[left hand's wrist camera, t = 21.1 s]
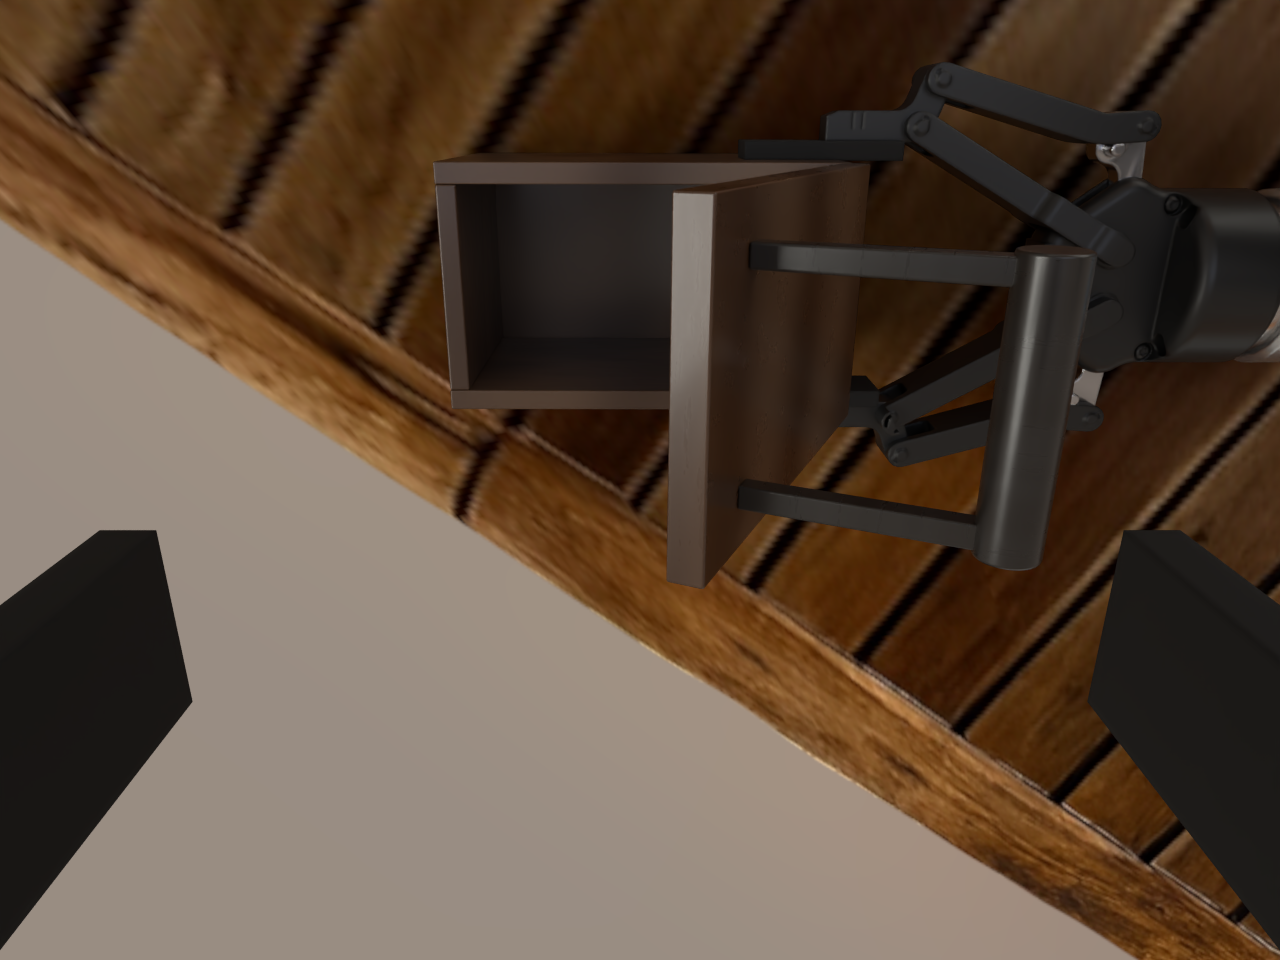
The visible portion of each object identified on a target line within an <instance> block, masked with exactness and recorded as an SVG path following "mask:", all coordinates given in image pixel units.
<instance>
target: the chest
mask: <svg viewBox="0 0 1280 960" xmlns="http://www.w3.org/2000/svg"><path fill="white" fill-rule="evenodd" d="M841 163H851V162H846V161H840V160H744V159H741V158H738V154H719V153H477V154H472V155H467V156H461V157H456V158H451V159H445V160H440V161H435V162H433V168H434V181H435V184H436V185H435V191H436V205H437V218H438V231H439V244H440V257H441V270H442V284H443V297H444V310H445V323H446V336H447V349H448V363H449V376H450V388H451V389H452V390H451V403H452V408H453V409H669V386H670V318H671V249H672V193H673V191H674V190H678V189H684V188H690V187H697V186H703V185H709V184H716V183H722V182H728V181H734V180H741V179H747V178H753V177H760V176H766V175H772V174H779V173H785V172H791V171H797V170H804V169H810V168H816V167H823V166H829V165H835V164H841Z"/></svg>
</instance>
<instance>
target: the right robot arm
mask: <svg viewBox="0 0 1280 960" xmlns="http://www.w3.org/2000/svg"><path fill="white" fill-rule="evenodd" d="M944 104H947V105H951V106H954V107H957V108H960V109H963V110H966V111H969V112H972V113H976V114H979V115H982V116H985V117H988V118H991V119H994V120H998V121H1001V122H1004V123H1007V124H1010V125H1013V126H1016V127H1020V128H1023V129H1026V130H1029V131H1032V132H1035V133H1038V134H1041V135H1045V136H1048V137H1051V138H1054V139H1057V140H1061V141H1065V142H1071V143H1084V144H1087V146H1086V154H1087V157H1088V158H1089V159H1090V160H1091V161H1092V162H1095V163H1099V164H1102V165H1104V166H1105V167H1106V169H1107V171H1108V179H1106V180H1104V181H1103V182H1101V183H1100V184H1098V185H1097V186H1095V187H1094V188H1092V189H1091V190H1089V191H1088V192H1086V193H1085V194H1083V195H1082V196H1080V197H1079V198H1077V199H1076V200H1074V201H1073V202H1069V201H1068V200H1066V199H1065V198H1063V197H1061V196H1059V195H1057V194H1055V193H1053V192H1051V191H1049V190H1047V189H1046V188H1044V187H1043V186H1041V185H1040V184H1038V183H1037V182H1035V181H1034V180H1032V179H1031V178H1029V177H1027V176H1026V175H1024V174H1023V173H1021V172H1020V171H1018V170H1017V169H1015V168H1014V167H1012V166H1011V165H1009V164H1008V163H1006V162H1005V161H1003V160H1002V159H1000V158H998V157H997V156H995V155H994V154H992V153H991V152H989V151H988V150H986V149H985V148H983V147H982V146H980V145H979V144H977V143H976V142H974V141H973V140H971V139H969V138H968V137H966V136H965V135H963V134H962V133H960V132H959V131H957V130H956V129H954V128H953V127H951V126H950V125H948V124H947V123H945V122H944V121H942V120H940V119H939V118H938V117H939V114H940V112H941V110H942V108H943V106H944ZM1160 128H1161V118H1160V116H1159V114H1157V113H1156V112H1154V111H1149V110H1147V111H1115V112H1100V111H1097V110H1094V109H1091V108H1088V107H1085V106H1081V105H1078V104H1075V103H1072V102H1069V101H1066V100H1063V99H1060V98H1057V97H1054V96H1051V95H1048V94H1044V93H1041V92H1038V91H1035V90H1032V89H1029V88H1026V87H1023V86H1020V85H1017V84H1014V83H1010V82H1007V81H1004V80H1001V79H998V78H995V77H992V76H989V75H986V74H983V73H980V72H976V71H973V70H970V69H967V68H964V67H961V66H958V65H955V64H952V63H947V62H942V63H937V64H932V65H927V66H924V67H921V68H919V69H918V70H917V71H916V72H915V74H914V76H913V79H912V87H911V89H910V91H909V94H908V96H907V98H906V100H905V102H904V103H903V104H902V105H901V106H900V107H899V108H897V109H895V110H892V111H832V112H829V113H827V114H824V115H822V116H821V118H820V133H819V140H739V142H738V158H741V159H744V160H840V161H903V154H904V144H905V145H907V146H908V147H910V148H912V149H913V150H915V151H916V152H918V153H919V154H921V155H922V156H924V157H926V158H927V159H929V160H930V161H932V162H933V163H935V164H936V165H938V166H940V167H941V168H943V169H944V170H946V171H947V172H949V173H950V174H952V175H954V176H955V177H957V178H958V179H960V180H961V181H963V182H964V183H966V184H968V185H969V186H971V187H972V188H974V189H975V190H977V191H978V192H980V193H982V194H983V195H985V196H986V197H988V198H989V199H991V200H992V201H994V202H996V203H997V204H999V205H1000V206H1002V207H1003V208H1005V209H1006V210H1008V211H1009V212H1011V214H1012V215H1013V216H1015V217H1016V218H1018V219H1019V220H1021V221H1022V222H1024V223H1026V224H1027V225H1029V226H1030V227H1032V228H1033V229H1035V232H1034V233H1033V235H1032V237H1031V238H1026V244H1025V246H1028V245H1059V246H1072V247H1080V248H1086V249H1091V250H1093V251H1095V252H1097V262H1096V267H1095V273H1094V278H1093V284H1092V289H1091V295H1090V300H1089V306H1088V311H1087V317H1086V322H1085V328H1084V333H1083V339H1082V344H1081V350H1080V355H1079V361H1078V366H1077V372H1076V377H1075V383H1074V388H1073V394H1072V399H1071V405H1070V410H1069V416H1068V421H1067V427H1066V430H1076V431H1093V430H1095V429H1097V428H1098V427H1099V426H1100V425H1101V424H1102V421H1103V417H1104V415H1103V412H1102V410H1101V409H1099V408H1098V407H1097V406H1095V403H1096V400H1097V396H1098V392H1099V389H1100V385H1101V381H1102V377H1103V374H1104V372H1107V371H1110V370H1112V369H1114V368H1116V367H1118V366H1120V365H1123V364H1126V363H1130V362H1225V361H1229V360H1232V359H1234V360H1236V361H1238V362H1280V188H1274V189H1262V190H1260V191H1254V190H1251V189H1247V188H1158V187H1156V186H1154V185H1152V184H1151V183H1149V182H1148V181H1146V180H1145V179H1142V172H1143V163H1144V155H1145V147H1146V142H1147V141H1150V140H1152V139H1153V138H1155V137H1156V136H1157V134H1158V133H1159V131H1160ZM1003 326H1004V321H1002V322H1000V323H999V324H997V325H996V326H995V328H994V330H992V331H991V332H989V333H987V334H985V335H983V336H981V337H979V338H977V339H975V340H973V341H971V342H969V343H968V344H966V345H964V346H962V347H960V348H958V349H956V350H954V351H952V352H950V353H948V354H946V355H944V356H942V357H940V358H939V359H937V360H935V361H933V362H931V363H929V364H927V365H925V366H923V367H921V368H919V369H917V370H915V371H913V372H911V373H910V374H908V375H906V376H904V377H902V378H900V379H898V380H896V381H894V382H892V383H890V384H888V385H886V386H884V387H882V388H881V389H879V390H878V389H877V388H876V387H875V386H874V384H873V383H872V382H871V381H870V380H869V379H868V378H867V377H866V376H852V377H851V388H850V399H849V410H848V416H847V417H846V418H845V419H844V420H843V422H842V423H841V424H840V425H839V426H838V427H870V428H872V429H874V432H875V436H876V443H877V446H878V447H879V448H880V450H881V451H882V452H883V454H884V455H885V456H886V458H887V459H888V460H889V462H890V463H891V464H892V465H894V466H897V467H903V466H907V465H911V464H915V463H919V462H923V461H927V460H930V459H934V458H938V457H942V456H946V455H950V454H954V453H958V452H962V451H966V450H970V449H974V448H978V447H981V446H985V445H986V441H987V434H988V427H989V421H990V414H991V407H992V400H993V399H991V400H987V401H983V402H980V403H976V404H972V405H968V406H964V407H960V408H956V409H953V410H949V411H945V412H941V413H937V414H933V415H930V416H926V417H922V418H919V417H921V416H922V415H924V414H926V413H928V412H930V411H932V410H934V409H936V408H938V407H940V406H942V405H944V404H946V403H948V402H950V401H952V400H954V399H956V398H958V397H960V396H962V395H964V394H966V393H968V392H970V391H972V390H974V389H976V388H978V387H980V386H982V385H984V384H986V383H988V382H990V381H992V380H993V379H995V378H996V374H997V367H998V360H999V353H1000V347H1001V340H1002V333H1003ZM917 418H918V419H917Z"/></svg>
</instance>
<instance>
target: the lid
mask: <svg viewBox="0 0 1280 960" xmlns="http://www.w3.org/2000/svg"><path fill="white" fill-rule="evenodd" d="M869 175H870V164H864V163H841V164H835V165H829V166H823V167H816V168H810V169H804V170H797V171H791V172H785V173H779V174H772V175H766V176H760V177H753V178H747V179H741V180H734V181H728V182H722V183H716V184H709V185H703V186H697V187H690V188H684V189H678V190H674V191H673V193H672V249H671V318H670V386H669V455H668V523H667V581H668V582H672V583H676V584H681V585H686V586H690V587H695V588H700V589H704V588H705V587H706V585H707V584H708V583H709V582H710V581H711V579H712V578H713V577H714V576H715V575H716V573H717V572H718V571H719V570H720V569H721V567H722V566H723V565H724V564H725V562H726V561H727V560H728V559H729V558H730V556H731V555H732V554H733V553H734V552H735V550H736V549H737V548H738V547H739V546H740V544H741V543H742V542H743V541H744V540H745V538H746V537H747V536H748V535H749V534H750V532H751V531H752V530H753V529H754V528H755V526H756V525H757V524H758V523H759V522H760V520H761V519H762V518H763V517H764V516H765V514H770V515H775V516H781V517H787V518H792V519H798V520H804V521H810V522H815V523H821V524H827V525H832V526H838V527H844V528H850V529H855V530H861V531H867V532H872V533H878V534H884V535H890V536H895V537H901V538H907V539H912V540H918V541H924V542H929V543H935V544H941V545H947V546H952V547H958V548H964V549H969V550H971V552H972V554H973V556H974V557H975V558H976V559H978V560H979V561H981V562H983V563H985V564H987V565H990V566H993V567H996V568H1001V569H1006V570H1029V569H1033V568H1035V567H1037V566H1038V565H1039V564H1040V563H1041V562H1042V559H1043V553H1044V548H1045V542H1046V537H1047V531H1048V526H1049V520H1050V515H1051V509H1052V504H1053V498H1054V493H1055V487H1056V482H1057V476H1058V471H1059V465H1060V460H1061V454H1062V449H1063V443H1064V438H1065V432H1066V427H1067V421H1068V416H1069V410H1070V405H1071V399H1072V394H1073V388H1074V383H1075V377H1076V372H1077V366H1078V361H1079V355H1080V350H1081V344H1082V339H1083V333H1084V328H1085V322H1086V317H1087V311H1088V306H1089V300H1090V295H1091V289H1092V284H1093V278H1094V273H1095V267H1096V262H1097V252H1095V251H1093V250H1091V249H1086V248H1080V247H1072V246H1059V245H1028V246H1022V247H1018V248H1016V250H1015V253H1014V252H995V251H976V250H958V249H939V248H921V247H902V246H883V245H865V244H863V242H864V231H865V220H866V209H867V198H868V186H869ZM860 277H865V278H879V279H894V280H909V281H924V282H938V283H953V284H968V285H983V286H997V287H1009V293H1008V300H1007V306H1006V313H1005V320H1004V326H1003V333H1002V340H1001V347H1000V353H999V360H998V367H997V374H996V380H995V387H994V394H993V400H992V407H991V414H990V421H989V427H988V434H987V441H986V447H985V454H984V461H983V468H982V474H981V481H980V488H979V494H978V501H977V508H976V515H970V514H964V513H957V512H951V511H945V510H939V509H933V508H926V507H920V506H914V505H908V504H901V503H895V502H889V501H883V500H877V499H870V498H864V497H858V496H852V495H846V494H839V493H833V492H827V491H821V490H815V489H808V488H802V487H796V486H790V484H791V483H792V482H793V481H794V479H795V478H796V477H797V476H798V475H799V473H800V472H801V471H802V470H803V469H804V467H805V466H806V465H807V464H808V463H809V461H810V460H811V459H812V458H813V457H814V455H815V454H816V453H817V452H818V450H819V449H820V448H821V447H822V446H823V444H824V443H825V442H826V441H827V440H828V438H829V437H830V436H831V435H832V434H833V432H834V431H835V430H836V429H837V428H838V426H839V425H840V424H841V423H842V422H843V420H844V419H845V418H846V417H847V416H848V410H849V399H850V388H851V377H852V365H853V354H854V343H855V332H856V321H857V309H858V298H859V287H860Z"/></svg>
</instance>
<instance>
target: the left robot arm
mask: <svg viewBox="0 0 1280 960" xmlns="http://www.w3.org/2000/svg"><path fill="white" fill-rule="evenodd" d="M191 703H192V697H191V692H190V688H189V683H188V678H187V673H186V669H185V664H184V659H183V655H182V650H181V645H180V640H179V636H178V631H177V626H176V621H175V617H174V612H173V607H172V603H171V598H170V593H169V588H168V584H167V579H166V574H165V570H164V565H163V560H162V555H161V551H160V546H159V541H158V537H157V532H156V530H100V531H98V532H97V533H96V534H94V535H93V536H92V537H90V538H89V539H88V540H86V541H85V542H84V543H82V544H81V545H80V546H78V547H77V548H76V549H74V550H73V551H72V552H70V553H69V554H68V555H66V556H65V557H64V558H62V559H61V560H60V561H58V562H57V563H56V564H54V565H53V566H52V567H50V568H49V569H48V570H46V571H45V572H44V573H43V574H41V575H40V576H38V577H37V578H36V579H35V580H33V581H32V582H31V583H29V584H28V585H27V586H25V587H24V588H22V589H21V590H20V591H18V592H17V593H16V594H14V595H13V596H12V597H11V598H9V599H8V600H7V601H5V602H4V603H3V604H1V605H0V950H1V948H2V947H3V946H4V944H5V943H6V942H7V941H8V939H9V938H10V937H11V935H12V934H13V933H14V932H15V930H16V929H17V928H18V926H19V925H20V924H21V923H22V921H23V920H24V919H25V917H26V916H27V915H28V913H29V912H30V911H31V910H32V908H33V907H34V906H35V904H36V903H37V902H38V901H39V899H40V898H41V897H42V895H43V894H44V893H45V891H46V890H47V889H48V888H49V886H50V885H51V884H52V882H53V881H54V880H55V879H56V877H57V876H58V875H59V873H60V872H61V871H62V870H63V868H64V867H65V866H66V864H67V863H68V862H69V860H70V859H71V858H72V857H73V855H74V854H75V853H76V851H77V850H78V849H79V848H80V846H81V845H82V844H83V842H84V841H85V840H86V839H87V837H88V836H89V835H90V833H91V832H92V831H93V829H94V828H95V827H96V826H97V824H98V823H99V822H100V820H101V819H102V818H103V817H104V815H105V814H106V813H107V811H108V810H109V809H110V808H111V806H112V805H113V804H114V802H115V801H116V800H117V799H118V797H119V796H120V795H121V793H122V792H123V791H124V790H125V788H126V787H127V786H128V784H129V783H130V782H131V780H132V779H133V778H134V776H135V775H136V774H137V773H138V771H139V770H140V769H141V767H142V766H143V765H144V764H145V762H146V761H147V760H148V759H149V757H150V756H151V755H152V753H153V752H154V751H155V749H156V748H157V747H158V746H159V744H160V743H161V742H162V740H163V739H164V738H165V737H166V735H167V734H168V733H169V731H170V730H171V729H172V728H173V726H174V725H175V724H176V722H177V721H178V720H179V718H180V717H181V716H182V715H183V713H184V712H185V711H186V709H187V708H188V707H189V706H190V704H191ZM1088 703H1089V704H1090V706H1091V707H1092V708H1093V709H1094V711H1095V712H1096V713H1097V715H1098V716H1099V717H1100V718H1101V720H1102V721H1103V722H1104V724H1105V725H1106V726H1107V728H1108V729H1109V730H1110V731H1111V733H1112V734H1113V735H1114V737H1115V738H1116V739H1117V740H1118V742H1119V743H1120V744H1121V746H1122V747H1123V748H1124V749H1125V751H1126V752H1127V753H1128V755H1129V756H1130V757H1131V759H1132V760H1133V761H1134V762H1135V764H1136V765H1137V766H1138V768H1139V769H1140V770H1141V771H1142V773H1143V774H1144V775H1145V777H1146V778H1147V779H1148V780H1149V782H1150V783H1151V784H1152V786H1153V787H1154V788H1155V790H1156V791H1157V792H1158V793H1159V795H1160V796H1161V797H1162V799H1163V800H1164V801H1165V802H1166V804H1167V805H1168V806H1169V808H1170V809H1171V810H1172V811H1173V813H1174V814H1175V815H1176V817H1177V818H1178V819H1179V821H1180V822H1181V823H1182V824H1183V826H1184V827H1185V828H1186V830H1187V831H1188V832H1189V833H1190V835H1191V836H1192V837H1193V839H1194V840H1195V841H1196V842H1197V844H1198V845H1199V846H1200V848H1201V849H1202V850H1203V851H1204V853H1205V854H1206V855H1207V857H1208V858H1209V859H1210V861H1211V862H1212V863H1213V864H1214V866H1215V867H1216V868H1217V870H1218V871H1219V872H1220V873H1221V875H1222V876H1223V877H1224V879H1225V880H1226V881H1227V882H1228V884H1229V885H1230V886H1231V888H1232V889H1233V890H1234V892H1235V893H1236V894H1237V895H1238V897H1239V898H1240V899H1241V901H1242V902H1243V903H1244V904H1245V906H1246V907H1247V908H1248V910H1249V911H1250V912H1251V913H1252V915H1253V916H1254V917H1255V919H1256V920H1257V921H1258V923H1259V924H1260V925H1261V926H1262V928H1263V929H1264V930H1265V932H1266V933H1267V934H1268V935H1269V937H1270V938H1271V939H1272V941H1273V942H1274V943H1275V944H1276V946H1277V947H1278V948H1279V950H1280V605H1279V604H1277V603H1276V602H1275V601H1273V600H1272V599H1271V598H1269V597H1268V596H1267V595H1266V594H1264V593H1263V592H1262V591H1260V590H1259V589H1258V588H1256V587H1255V586H1254V585H1252V584H1251V583H1250V582H1248V581H1247V580H1246V579H1244V578H1243V577H1242V576H1240V575H1239V574H1238V573H1236V572H1235V571H1234V570H1232V569H1231V568H1230V567H1228V566H1227V565H1226V564H1224V563H1223V562H1222V561H1220V560H1219V559H1218V558H1216V557H1215V556H1214V555H1212V554H1211V553H1210V552H1208V551H1207V550H1206V549H1204V548H1203V547H1202V546H1200V545H1199V544H1198V543H1196V542H1195V541H1194V540H1192V539H1191V538H1190V537H1188V536H1187V535H1186V534H1184V533H1183V532H1182V531H1180V530H1124V532H1123V537H1122V541H1121V546H1120V551H1119V555H1118V560H1117V565H1116V570H1115V574H1114V579H1113V584H1112V588H1111V593H1110V598H1109V603H1108V607H1107V612H1106V617H1105V621H1104V626H1103V631H1102V636H1101V640H1100V645H1099V650H1098V654H1097V659H1096V664H1095V669H1094V673H1093V678H1092V683H1091V688H1090V692H1089V697H1088Z"/></svg>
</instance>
